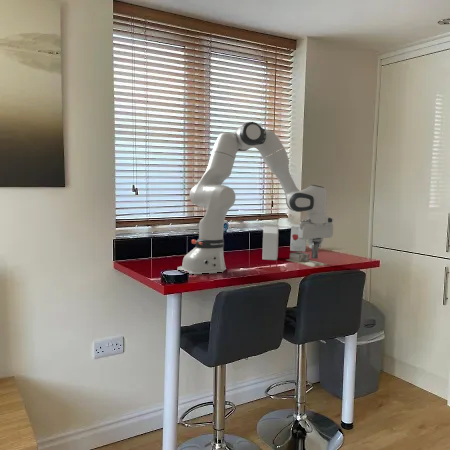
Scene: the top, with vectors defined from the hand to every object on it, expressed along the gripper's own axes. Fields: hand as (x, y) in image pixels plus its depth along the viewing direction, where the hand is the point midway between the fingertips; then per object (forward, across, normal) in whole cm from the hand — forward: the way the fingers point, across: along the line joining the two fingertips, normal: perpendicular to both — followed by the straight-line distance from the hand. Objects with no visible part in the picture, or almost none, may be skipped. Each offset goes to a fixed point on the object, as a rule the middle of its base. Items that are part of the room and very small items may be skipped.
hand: (315, 247), depth 217 cm
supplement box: (+10, +27, +40) cm, 50 cm away
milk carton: (+10, -10, +21) cm, 26 cm away
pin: (+5, 0, 0) cm, 5 cm away
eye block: (+10, 0, +5) cm, 11 cm away
